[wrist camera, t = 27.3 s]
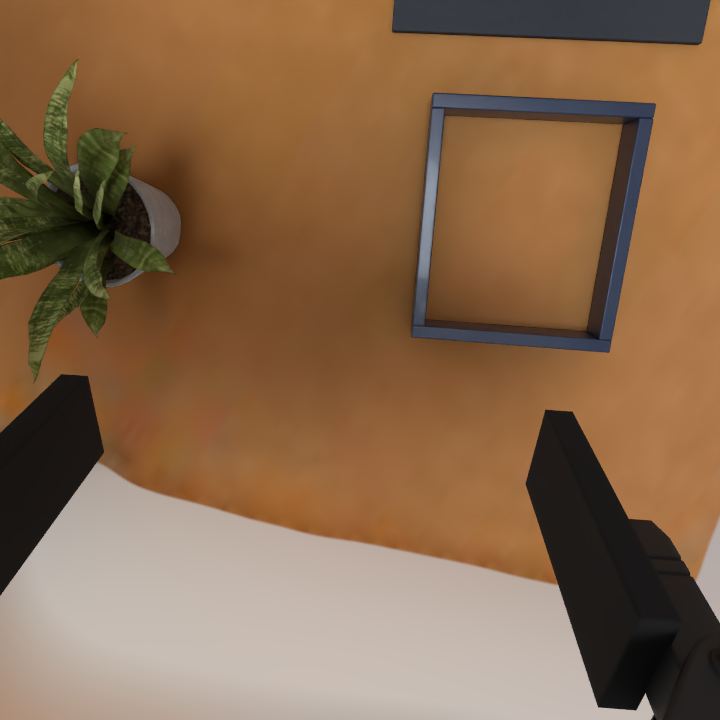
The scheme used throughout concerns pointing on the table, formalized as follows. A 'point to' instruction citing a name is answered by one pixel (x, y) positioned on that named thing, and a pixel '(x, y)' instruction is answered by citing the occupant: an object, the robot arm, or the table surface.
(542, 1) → the felt pad
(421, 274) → the blue-grey open rectangular frame
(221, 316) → the table surface
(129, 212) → the house plant
